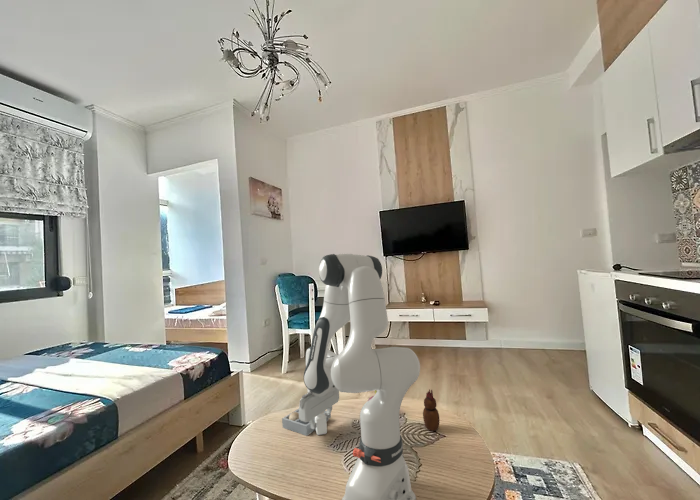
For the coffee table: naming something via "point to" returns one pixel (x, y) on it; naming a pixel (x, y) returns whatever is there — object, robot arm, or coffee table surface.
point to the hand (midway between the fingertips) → (321, 423)
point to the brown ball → (294, 416)
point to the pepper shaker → (321, 424)
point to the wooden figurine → (430, 412)
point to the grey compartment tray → (298, 425)
